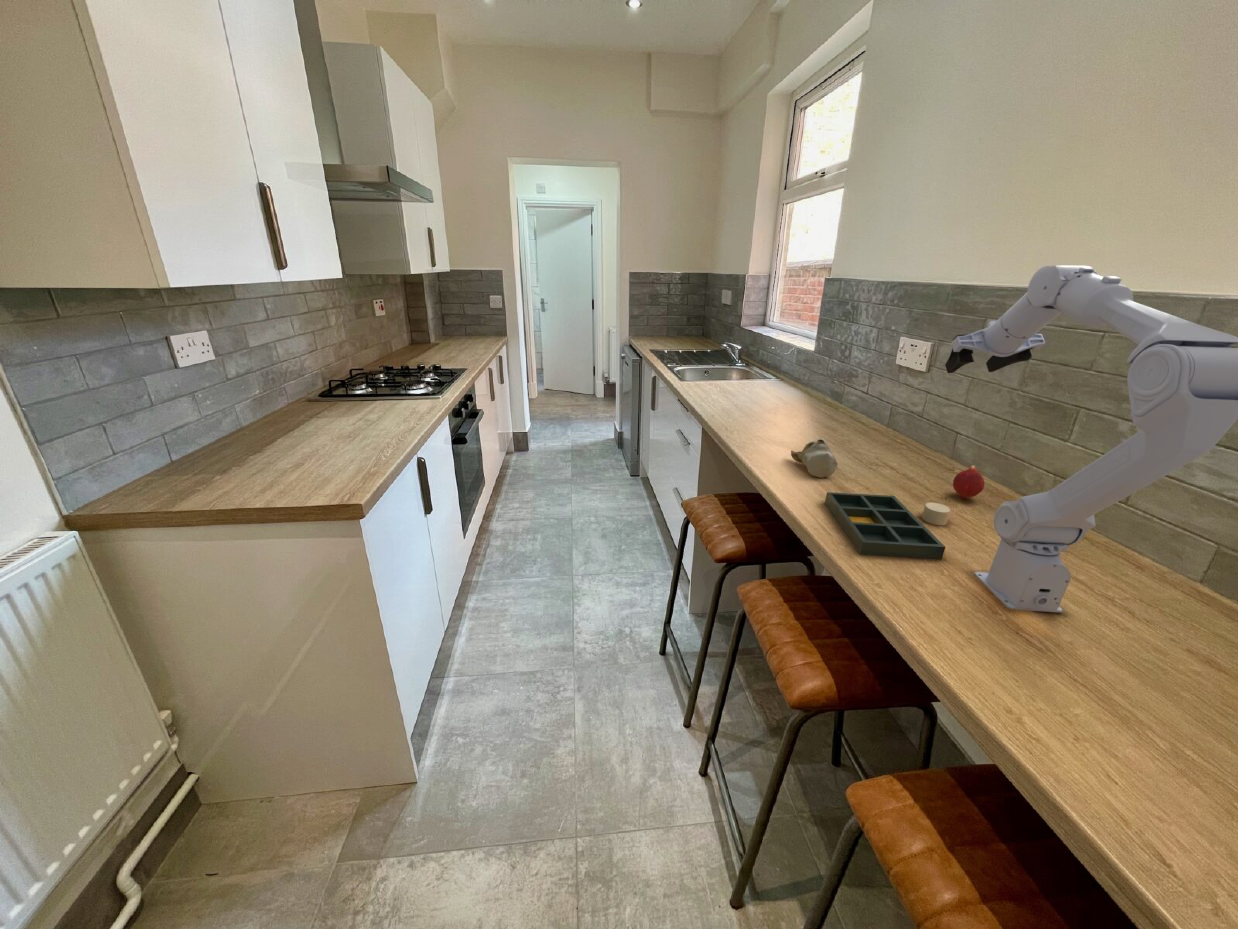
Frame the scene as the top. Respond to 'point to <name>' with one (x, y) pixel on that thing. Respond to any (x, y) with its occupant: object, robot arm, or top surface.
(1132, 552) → the top surface
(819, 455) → the ceramic sculpture
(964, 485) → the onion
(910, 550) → the grid
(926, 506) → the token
